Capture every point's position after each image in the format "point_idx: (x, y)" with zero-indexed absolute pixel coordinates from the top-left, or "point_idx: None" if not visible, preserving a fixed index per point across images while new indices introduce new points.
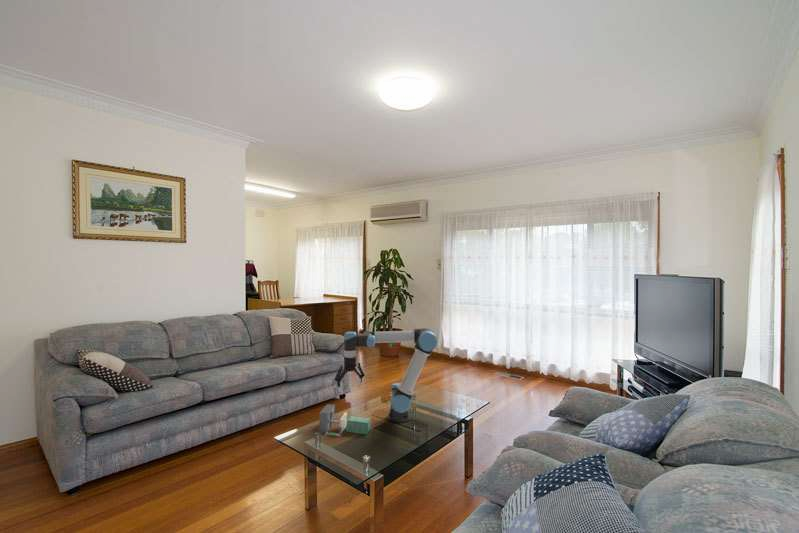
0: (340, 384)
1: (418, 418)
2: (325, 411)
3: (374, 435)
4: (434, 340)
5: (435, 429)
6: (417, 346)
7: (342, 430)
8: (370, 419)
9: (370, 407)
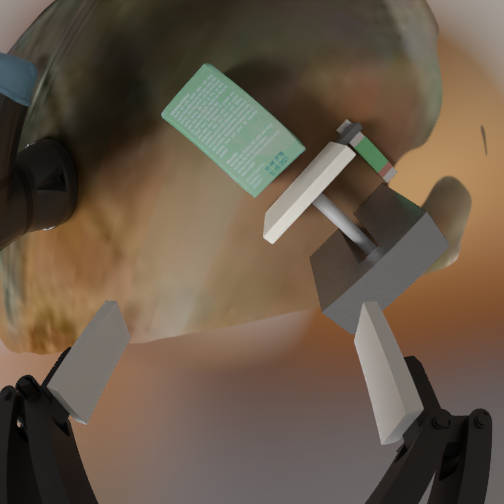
0: (411, 377)
1: None
2: (420, 245)
3: (192, 55)
4: None
5: None
6: None
7: (317, 156)
8: (162, 112)
9: None
